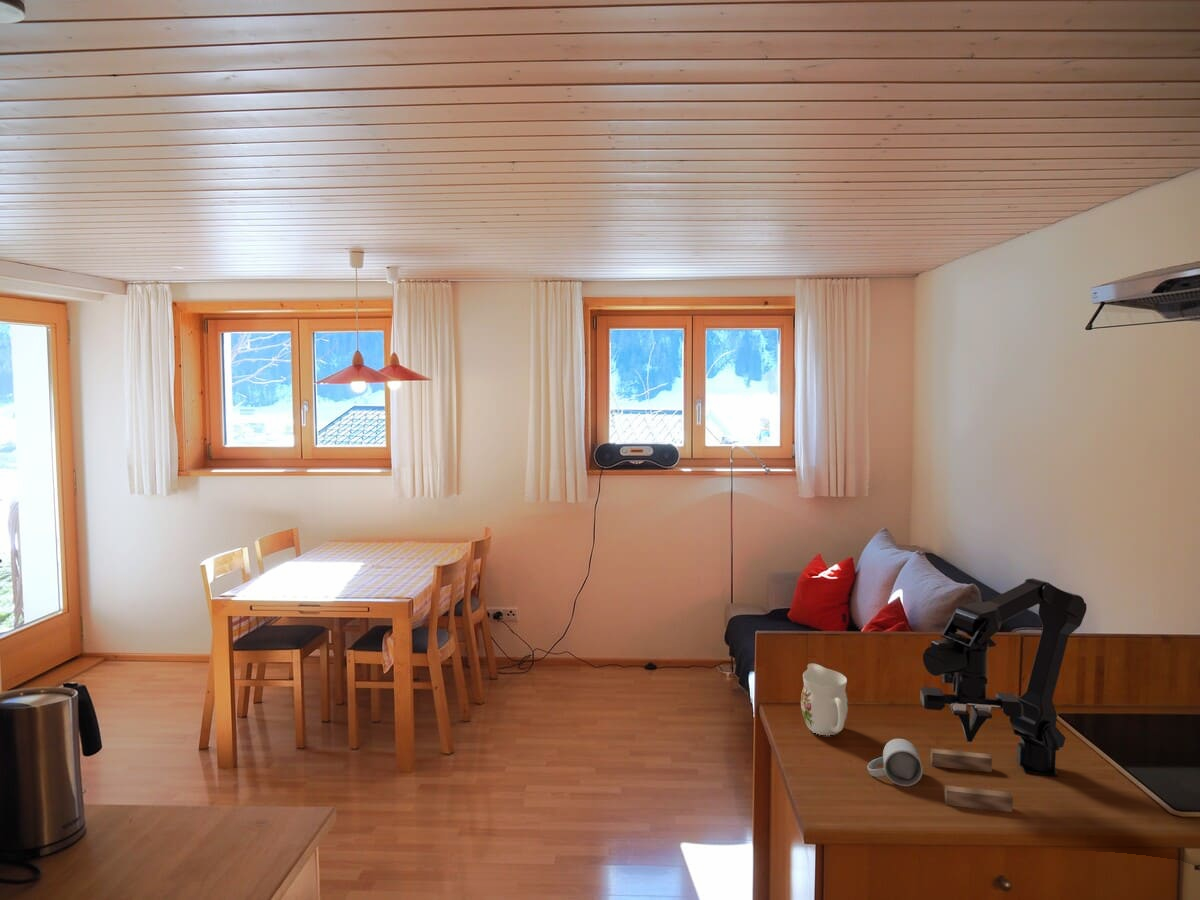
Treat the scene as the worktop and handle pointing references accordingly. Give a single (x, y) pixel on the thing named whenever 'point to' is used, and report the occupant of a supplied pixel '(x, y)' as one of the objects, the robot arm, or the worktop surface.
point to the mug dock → (970, 795)
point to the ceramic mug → (898, 763)
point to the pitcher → (824, 700)
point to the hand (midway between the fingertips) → (968, 741)
